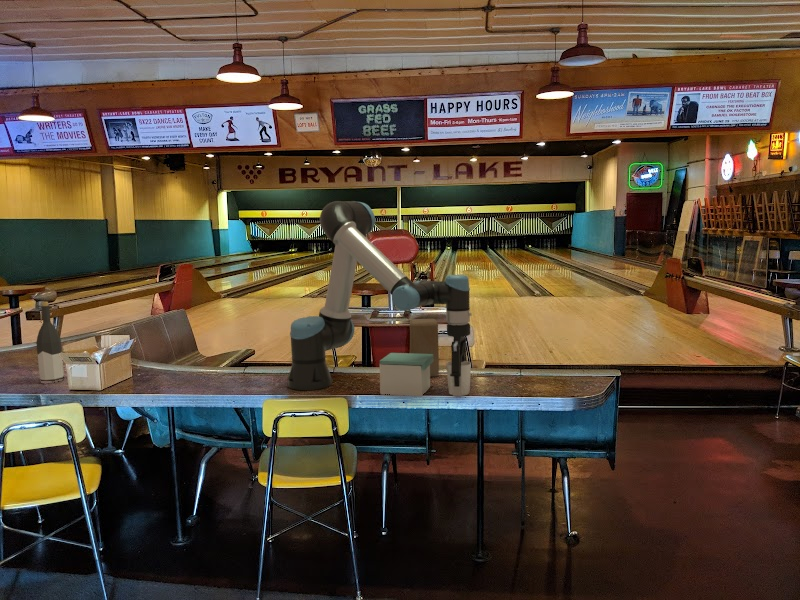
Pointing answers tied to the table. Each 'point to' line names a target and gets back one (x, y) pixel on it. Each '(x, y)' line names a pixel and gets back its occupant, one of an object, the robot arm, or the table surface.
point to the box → (404, 379)
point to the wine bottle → (49, 349)
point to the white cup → (465, 377)
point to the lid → (408, 359)
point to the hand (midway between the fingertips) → (460, 392)
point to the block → (425, 341)
